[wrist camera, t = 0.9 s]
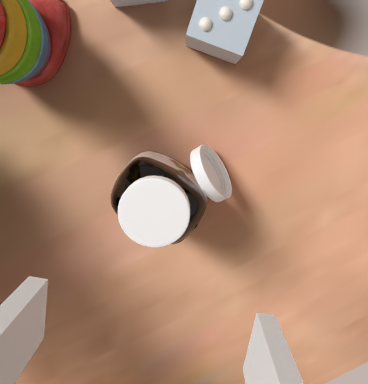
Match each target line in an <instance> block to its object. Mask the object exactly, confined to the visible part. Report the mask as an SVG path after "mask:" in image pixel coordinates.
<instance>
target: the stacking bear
mask: <svg viewBox="0 0 368 384" xmlns="http://www.w3.org/2000/svg"><path fill="white" fill-rule="evenodd" d="M69 40H70V14H69V9H68V6H67V5H66V3H64V2H62V0H0V84H13V83H15V84H18V85H22V86H36V85H40V84H43V83H45V82H47V81H48V80H50V79H51V78H52V77H53V76H54V75H55V74H56V73H57V71H58V69H59V68H60V66H61V64H62V62H63V60H64V58H65V55H66V52H67V49H68V45H69Z"/></svg>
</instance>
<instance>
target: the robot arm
mask: <svg viewBox="0 0 368 384" xmlns="http://www.w3.org/2000/svg"><path fill="white" fill-rule="evenodd" d="M47 290H48V279H44V278H38V277H32V276H29V277H28V278H27V279H26V280H25V281H24V282H23V283H22V284H21V285H20V286H19V287H18V288H17V289H16V290H15V291H14V292H13V293H12V294H11V295H10V296H9V297H8V298H7V299H6V300H5V301H4V302H3V303H2V304H1V305H0V384H15V382H16V381H17V379H18V378H19V376H20V375H21V373H22V371H23V370H24V368H25V367H26V365H27V364H28V362H29V361H30V359H31V358H32V356H33V354H34V353H35V351H36V350H37V348H38V347H39V345H40V344H41V342H42V341H43V339H44V333H45V318H46V304H47ZM243 373H244V378H245V383H246V384H304V383H303V381H302V378H301V376H300V373H299V371H298V368H297V366H296V364H295V361H294V359H293V356H292V354H291V351H290V349H289V347H288V344H287V342H286V339H285V337H284V334H283V332H282V330H281V327H280V325H279V322H278V320H277V317H276V315H271V314H265V313H258V312H257V314H256V318H255V322H254V326H253V330H252V334H251V338H250V342H249V346H248V350H247V354H246V358H245V362H244V366H243Z"/></svg>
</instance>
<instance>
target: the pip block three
mask: <svg viewBox="0 0 368 384" xmlns="http://www.w3.org/2000/svg"><path fill="white" fill-rule="evenodd" d="M262 3H263V0H197V1H196V4H195V8H194V11H193V14H192V17H191V20H190V23H189V26H188V29H187V32H186V44H187V47H190V48H192V49H195V50H198V51H200V52H203V53H206V54H208V55H211V56H214V57H216V58H219V59H222V60H225V61H227V62H230V63H233V64H236V63H237V62H238V61H239V60H240V59H241V58H242V57H243V55H244V52H245V49H246V46H247V44H248V41H249V38H250V36H251V33H252V30H253V27H254V25H255V22H256V19H257V17H258V14H259V11H260V8H261V6H262Z"/></svg>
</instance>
